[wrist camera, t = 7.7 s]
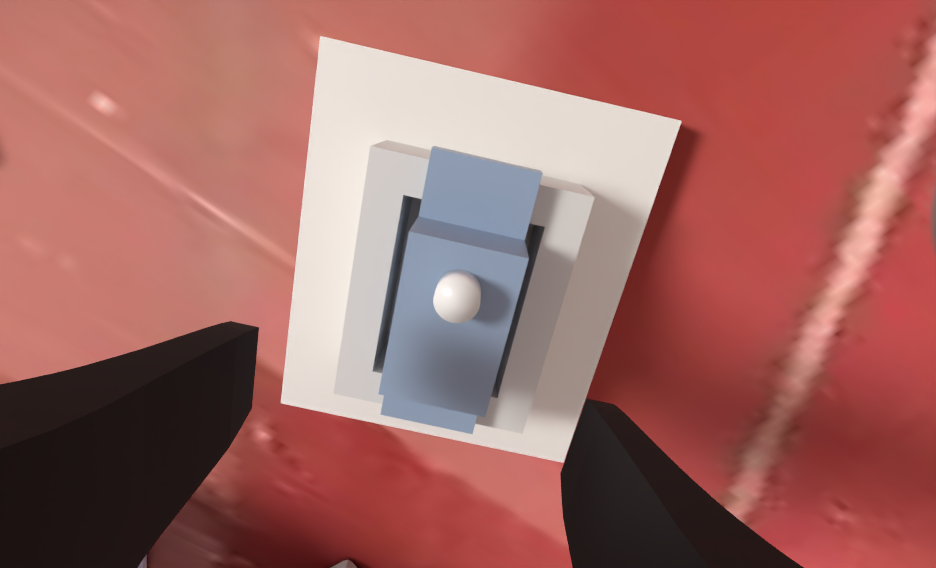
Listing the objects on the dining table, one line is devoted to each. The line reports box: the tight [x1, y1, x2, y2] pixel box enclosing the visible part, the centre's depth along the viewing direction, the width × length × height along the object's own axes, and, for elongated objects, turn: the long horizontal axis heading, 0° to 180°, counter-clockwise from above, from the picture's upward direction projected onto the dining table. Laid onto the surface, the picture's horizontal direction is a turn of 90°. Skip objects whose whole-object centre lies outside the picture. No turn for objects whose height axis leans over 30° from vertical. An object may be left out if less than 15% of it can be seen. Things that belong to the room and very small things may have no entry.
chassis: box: [281, 36, 682, 463], centre depth 18 cm, size 14×12×4 cm
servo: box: [379, 146, 543, 434], centre depth 16 cm, size 9×3×6 cm, turn 167°
